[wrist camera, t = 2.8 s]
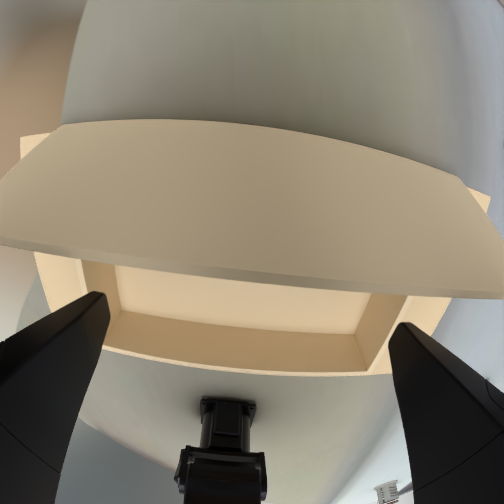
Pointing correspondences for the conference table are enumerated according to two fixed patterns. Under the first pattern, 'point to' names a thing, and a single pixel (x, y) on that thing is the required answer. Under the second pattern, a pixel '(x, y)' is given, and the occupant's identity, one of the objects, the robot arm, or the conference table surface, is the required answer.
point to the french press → (387, 492)
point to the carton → (239, 316)
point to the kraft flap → (251, 209)
